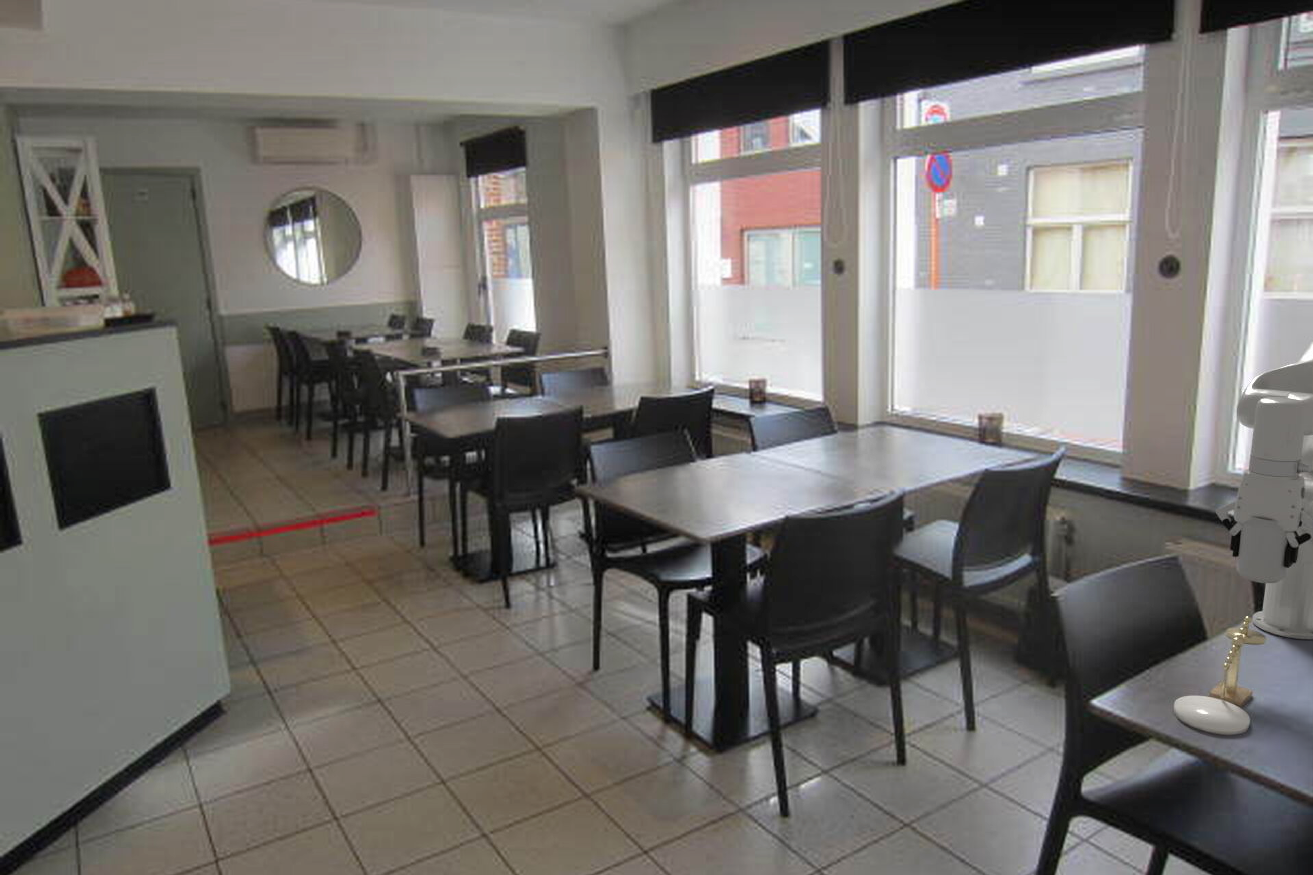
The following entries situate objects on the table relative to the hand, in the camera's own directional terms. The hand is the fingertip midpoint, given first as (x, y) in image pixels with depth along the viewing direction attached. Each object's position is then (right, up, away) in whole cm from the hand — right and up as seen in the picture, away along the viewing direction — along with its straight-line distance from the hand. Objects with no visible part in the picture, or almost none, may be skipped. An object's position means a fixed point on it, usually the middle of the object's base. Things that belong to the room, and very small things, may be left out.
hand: (1262, 559), depth 168 cm
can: (0, -4, +1) cm, 4 cm away
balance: (-8, -23, -5) cm, 25 cm away
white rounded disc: (-17, -25, -12) cm, 33 cm away
